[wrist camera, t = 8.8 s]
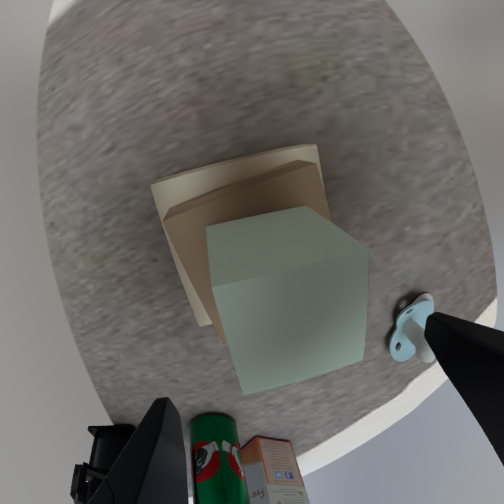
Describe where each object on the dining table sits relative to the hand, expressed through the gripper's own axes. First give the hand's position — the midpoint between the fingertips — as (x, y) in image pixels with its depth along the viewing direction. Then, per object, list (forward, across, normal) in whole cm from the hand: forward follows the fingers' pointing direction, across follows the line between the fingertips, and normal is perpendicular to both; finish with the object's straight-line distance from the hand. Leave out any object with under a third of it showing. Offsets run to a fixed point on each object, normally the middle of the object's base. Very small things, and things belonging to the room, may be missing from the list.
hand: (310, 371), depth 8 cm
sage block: (+7, 0, -1) cm, 7 cm away
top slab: (+10, 0, 0) cm, 11 cm away
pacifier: (+13, -15, +13) cm, 24 cm away
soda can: (+13, +8, +19) cm, 25 cm away
